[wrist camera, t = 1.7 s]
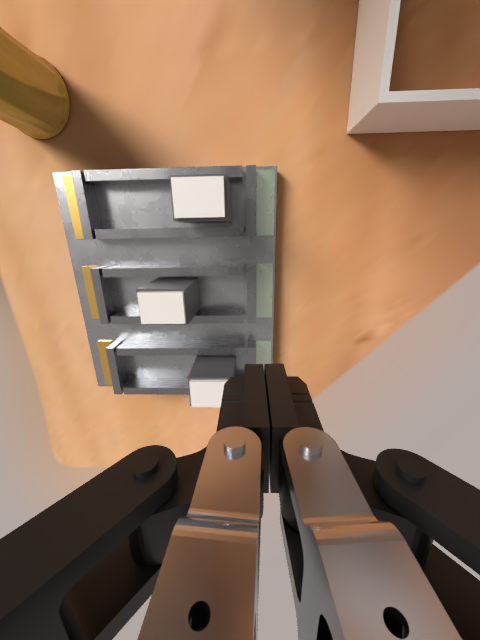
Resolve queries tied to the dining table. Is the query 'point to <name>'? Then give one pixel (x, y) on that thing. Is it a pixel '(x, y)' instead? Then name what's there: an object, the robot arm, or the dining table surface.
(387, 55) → the frame
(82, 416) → the dining table surface
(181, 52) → the dining table surface
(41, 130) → the vase
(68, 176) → the panel
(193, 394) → the breaker far
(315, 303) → the dining table surface
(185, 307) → the block
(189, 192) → the breaker near
